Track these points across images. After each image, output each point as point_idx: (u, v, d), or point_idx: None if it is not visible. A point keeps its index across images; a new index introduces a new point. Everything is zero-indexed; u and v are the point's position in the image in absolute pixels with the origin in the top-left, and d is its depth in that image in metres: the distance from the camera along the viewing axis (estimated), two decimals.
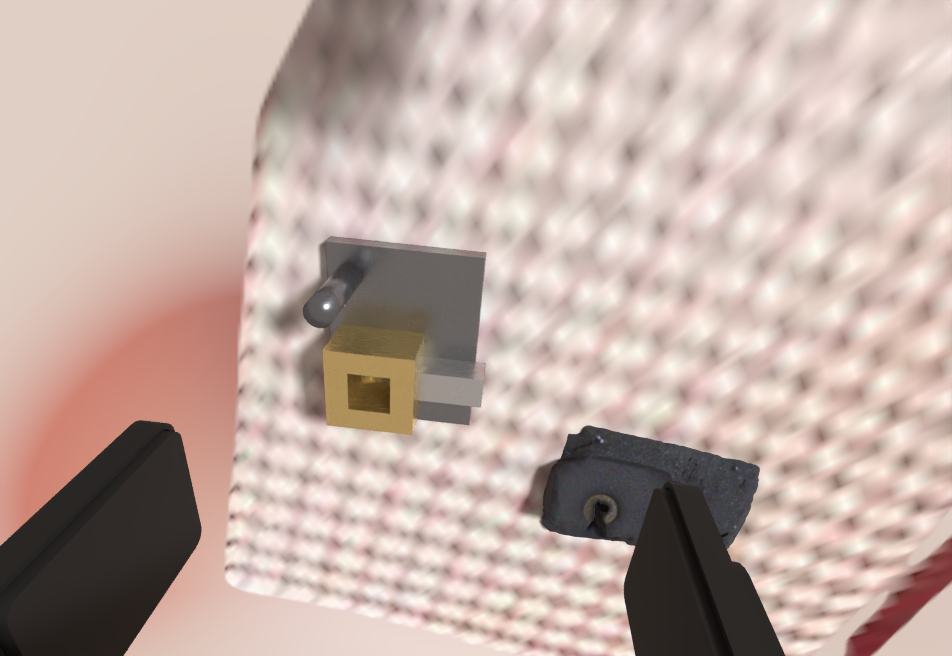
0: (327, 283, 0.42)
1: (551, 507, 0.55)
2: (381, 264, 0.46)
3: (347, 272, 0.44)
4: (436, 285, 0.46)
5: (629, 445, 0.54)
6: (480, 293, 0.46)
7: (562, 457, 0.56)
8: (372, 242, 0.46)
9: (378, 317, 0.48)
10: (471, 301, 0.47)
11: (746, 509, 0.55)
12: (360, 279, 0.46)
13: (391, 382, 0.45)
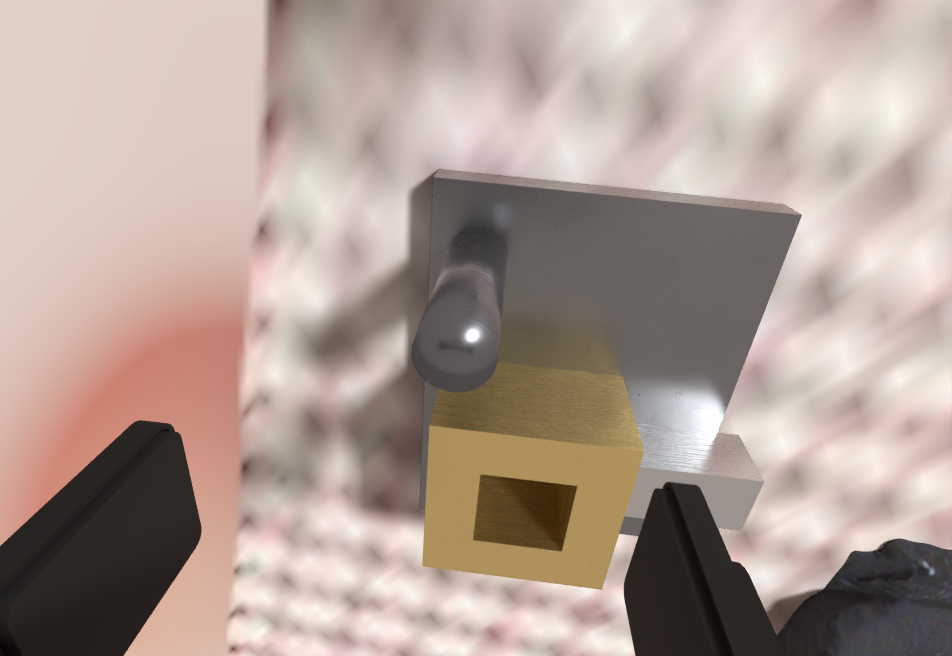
0: (458, 272, 0.17)
1: None
2: (554, 230, 0.21)
3: (488, 246, 0.19)
4: (670, 276, 0.21)
5: None
6: (767, 295, 0.21)
7: (829, 587, 0.31)
8: (532, 181, 0.21)
9: (529, 343, 0.23)
10: (741, 311, 0.22)
11: None
12: (506, 263, 0.21)
13: (578, 493, 0.20)
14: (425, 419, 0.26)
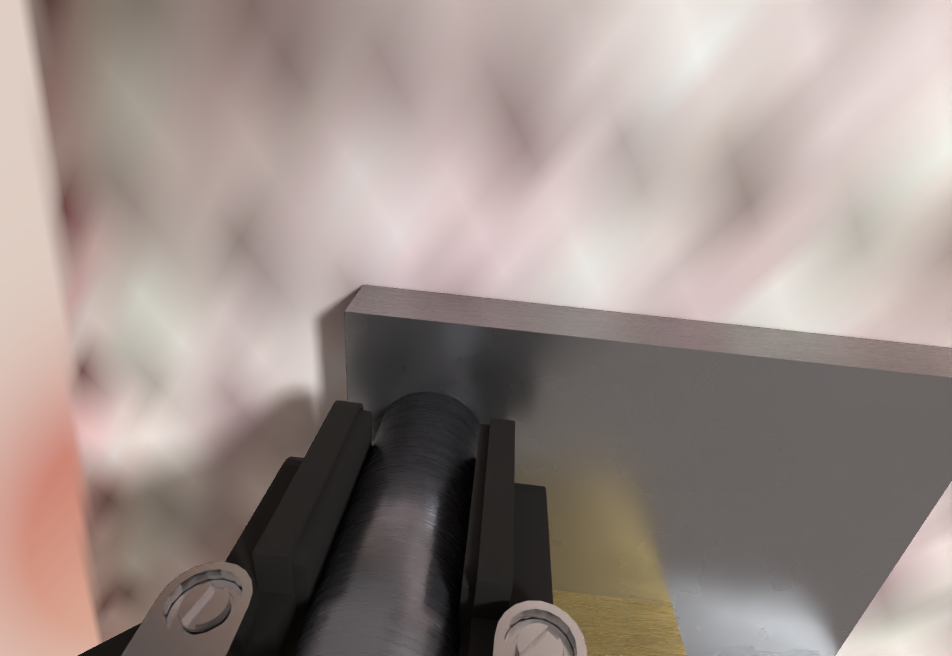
0: (362, 571, 0.08)
1: None
2: (563, 398, 0.12)
3: (441, 452, 0.10)
4: (764, 471, 0.12)
5: None
6: (931, 502, 0.12)
7: None
8: (524, 310, 0.12)
9: None
10: (882, 524, 0.13)
11: None
12: None
13: None
14: None
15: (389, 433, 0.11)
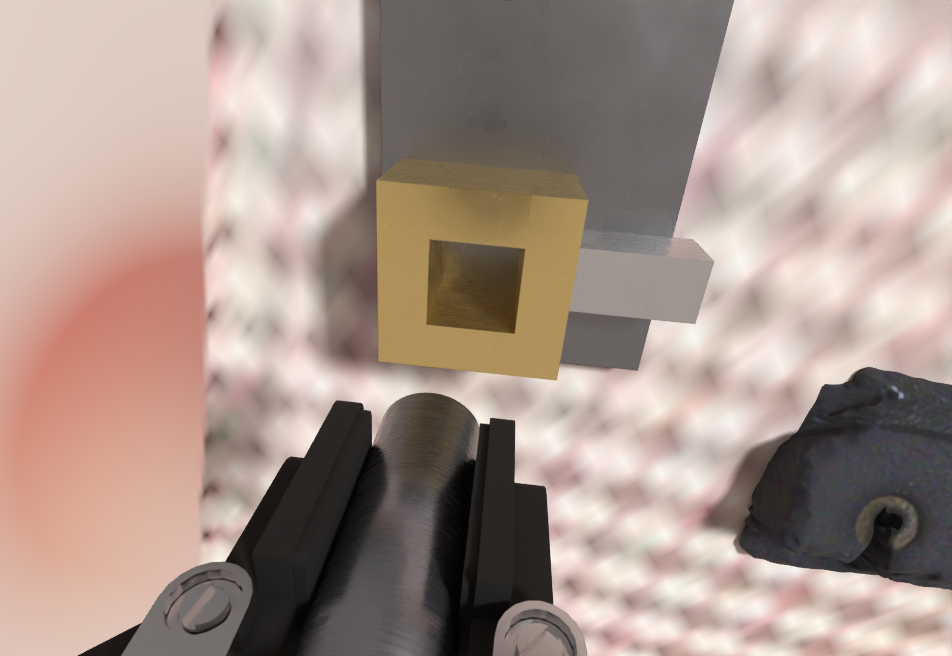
0: (362, 573, 0.08)
1: (792, 520, 0.30)
2: (501, 2, 0.21)
3: (440, 454, 0.10)
4: (617, 52, 0.21)
5: (951, 403, 0.28)
6: (712, 69, 0.21)
7: (803, 429, 0.31)
8: None
9: (483, 138, 0.23)
10: (688, 90, 0.22)
11: None
12: None
13: (527, 258, 0.21)
14: None
15: (388, 434, 0.11)
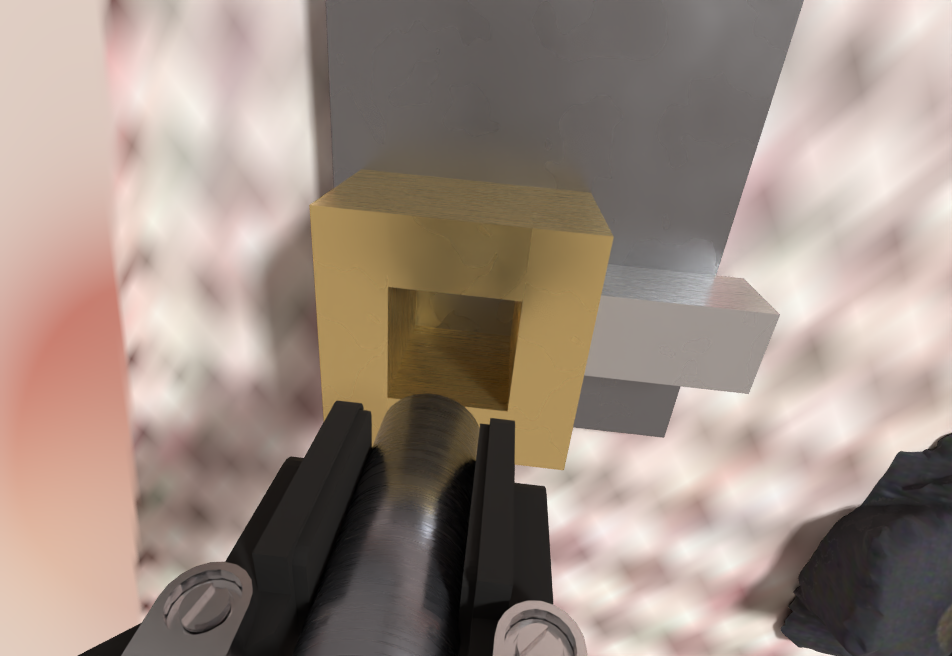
0: (362, 575, 0.08)
1: (857, 620, 0.24)
2: None
3: (440, 455, 0.10)
4: (651, 27, 0.16)
5: None
6: (782, 52, 0.16)
7: (867, 502, 0.25)
8: None
9: (467, 145, 0.17)
10: (747, 81, 0.16)
11: None
12: None
13: (525, 314, 0.15)
14: None
15: (389, 435, 0.11)
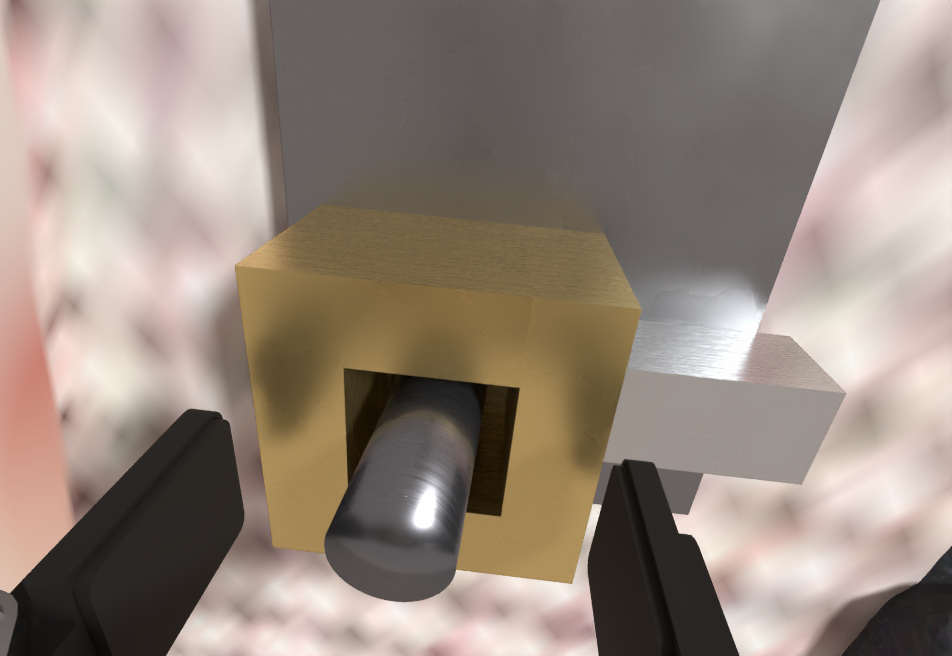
0: (413, 397, 0.12)
1: None
2: None
3: None
4: (683, 30, 0.12)
5: None
6: (851, 62, 0.12)
7: (927, 580, 0.21)
8: None
9: (451, 175, 0.14)
10: (804, 98, 0.13)
11: None
12: None
13: (523, 403, 0.11)
14: None
15: None
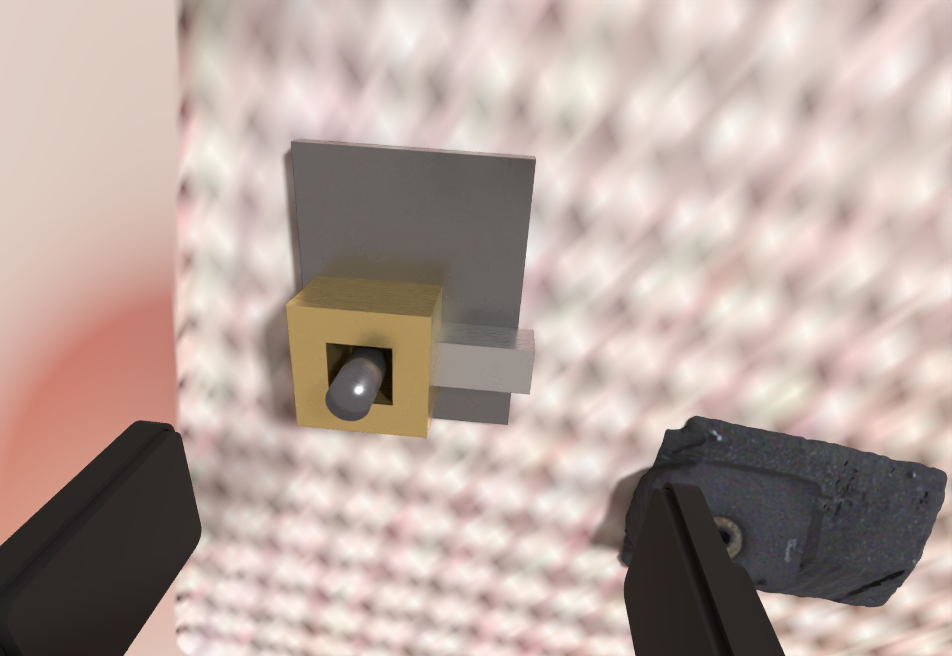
0: (357, 353, 0.30)
1: None
2: (376, 176, 0.30)
3: None
4: (460, 207, 0.31)
5: (759, 443, 0.37)
6: (527, 218, 0.31)
7: (655, 464, 0.39)
8: (362, 144, 0.30)
9: (373, 262, 0.32)
10: (513, 231, 0.31)
11: (928, 535, 0.38)
12: None
13: (394, 354, 0.29)
14: None
15: None
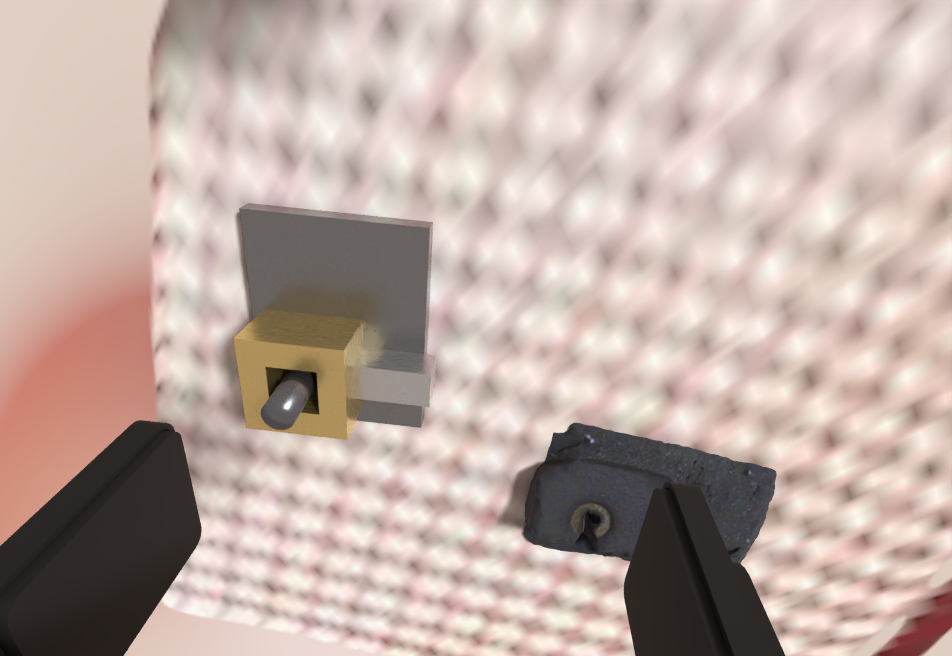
0: (289, 376, 0.38)
1: (534, 518, 0.47)
2: (307, 236, 0.38)
3: None
4: (373, 261, 0.39)
5: (624, 445, 0.46)
6: (426, 271, 0.39)
7: (546, 459, 0.48)
8: (296, 210, 0.39)
9: (308, 300, 0.41)
10: (415, 280, 0.39)
11: (760, 520, 0.47)
12: None
13: (318, 377, 0.38)
14: None
15: None
